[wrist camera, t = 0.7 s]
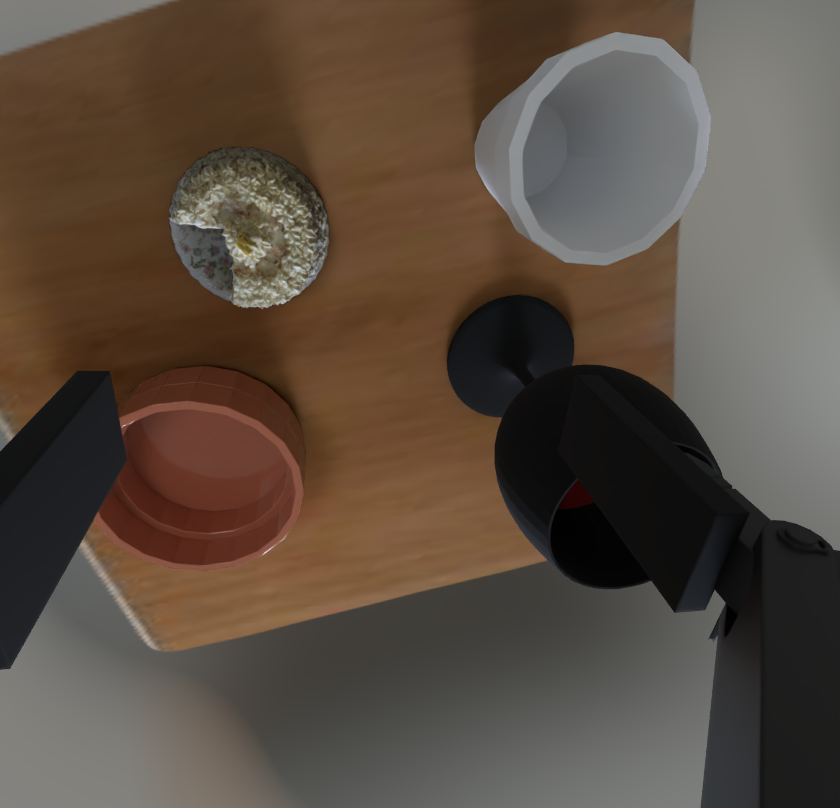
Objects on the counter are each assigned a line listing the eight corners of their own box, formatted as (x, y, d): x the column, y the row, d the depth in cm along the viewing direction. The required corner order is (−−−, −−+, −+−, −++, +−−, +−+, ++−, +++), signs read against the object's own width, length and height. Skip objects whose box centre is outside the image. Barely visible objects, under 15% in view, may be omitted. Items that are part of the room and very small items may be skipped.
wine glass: (572, 404, 45) (726, 579, 28) (452, 426, 44) (531, 620, 27) (574, 283, 40) (761, 403, 23) (439, 306, 40) (525, 448, 22)
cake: (260, 111, 32) (255, 104, 28) (358, 248, 37) (369, 262, 32) (133, 210, 33) (108, 220, 28) (245, 333, 38) (240, 359, 33)
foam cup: (444, 75, 33) (505, 46, 21) (589, 56, 33) (723, 17, 22) (458, 234, 37) (514, 280, 26) (586, 214, 38) (695, 250, 26)
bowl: (85, 374, 37) (47, 415, 32) (290, 354, 39) (286, 390, 34) (142, 529, 44) (119, 583, 39) (315, 506, 46) (314, 555, 41)
